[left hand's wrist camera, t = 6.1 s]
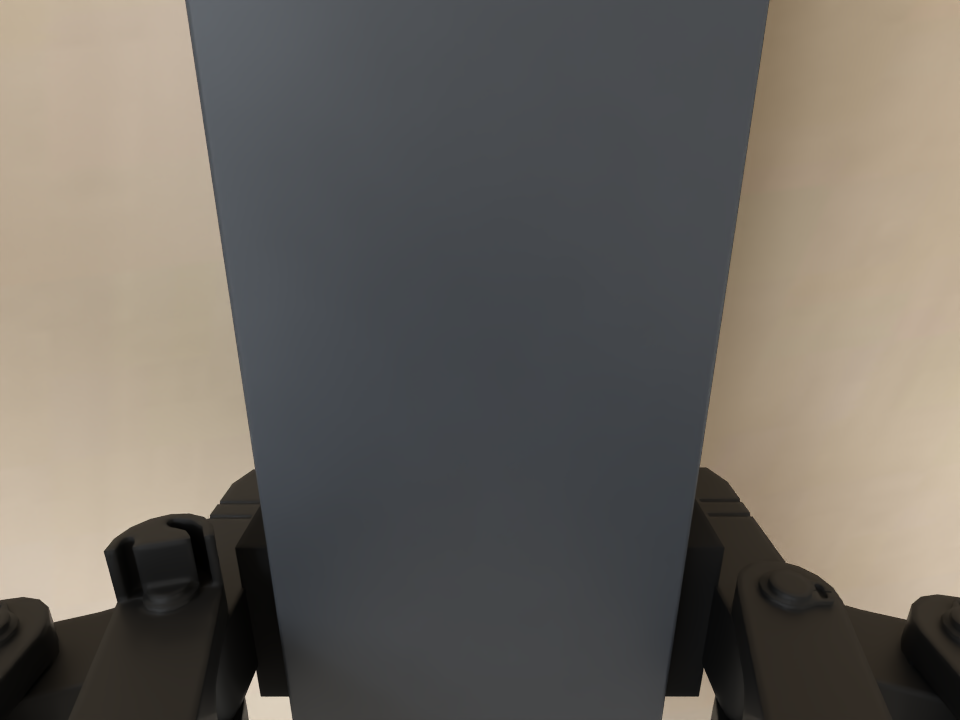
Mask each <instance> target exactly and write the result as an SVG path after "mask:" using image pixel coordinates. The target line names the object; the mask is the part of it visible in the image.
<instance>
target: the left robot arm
mask: <svg viewBox="0 0 960 720" xmlns="http://www.w3.org/2000/svg"><path fill="white" fill-rule="evenodd" d="M104 554H105V557H106V561H107V565H108V568H109V572H110V576H111V580H112V583H113V587H114V591H115V594H116V598H117V605H116V607H115V608H112V609H109V610H106V611H102V612H98V613H94V614H89V615H85V616H80V617H76V618H71V619H67V620H63V621H58V622H54V623H53V620H52V617H51V613H50V610H49V607H48V606H47V605H45V604H44V603H43V602H42V601H41V600H39V599H33V598H26V597H20V598H13V599H6V600H0V720H249V719H248V711H247V705H246V700H245V695H246V693H247V690H248V688H249V686H250V683H251V681H252V678H253V676H254V674H255V671H257V677H258V683H259V689H260V694H261V696H289V692H288V685H287V678H286V672H285V665H284V658H283V651H282V645H281V638H280V631H279V625H278V618H277V611H276V605H275V598H274V591H273V584H272V578H271V571H270V564H269V558H268V551H267V544H266V538H265V531H264V524H263V517H262V511H261V504H260V497H259V491H258V484H257V477H256V471H255V469H253V470H252V471H250V472H249V473H248V474H246V475H245V476H243V477H242V478H240V479H239V480H237V481H236V482H235V483H233V484H232V485H231V487H230V488H229V489H228V491H227V492H226V494H225V495H224V496H223V498H222V499H221V501H220V504H218V505H217V506H216V508H215V509H214V510H213V512H212V513H211V515H210V519H206V518H204V517H201V516H197V515H193V514H170V515H166V516H161V517H157V518H153V519H149V520H147V521H145V522H142V523H140V524H138V525H135V526H133V527H131V528H129V529H128V530H126V531H125V532H123V533H122V534H120V535H119V536H117V537H116V538H115V539H114V540H113V541H112V542H111V543H110V544H109V546H108V547H107V548H106V549H105V551H104ZM703 669H705V672H706V674H707V676H708V679H709V681H710V683H711V686H712V688H713V691H714V693H715V700H714V705H713V711H712V716H711V720H960V598H959V597H952V596H945V595H938V594H937V595H930V596H923V597H920V598H919V599H918V600H917V601H915V602H914V603H913V604H912V605H911V609H910V612H909V615H908V618H907V620H905V619H900V618H896V617H891V616H887V615H882V614H878V613H873V612H869V611H864V610H860V609H856V608H853V607H849V606H846V605H844V604H843V601H842V600H841V598H840V597H839V596H838V594H837V593H836V591H835V590H834V588H833V587H831V586H830V585H829V584H828V583H826V582H825V581H824V580H823V579H821V578H820V577H819V576H817V575H815V574H813V573H811V572H809V571H807V570H805V569H803V568H801V567H799V566H795V565H791V564H788V563H786V562H785V561H784V560H783V558H782V557H781V555H780V554H779V553H778V551H777V550H776V549H775V547H774V546H773V544H772V543H771V542H770V540H769V539H768V537H767V536H766V535H765V533H764V532H763V530H762V529H761V528H760V526H759V525H758V524H757V522H756V521H755V519H754V518H753V517H750V512H749V511H748V510H747V508H746V507H745V506H744V504H743V503H742V502H740V499H739V497H738V496H737V494H736V493H735V492H734V490H733V489H732V487H731V486H730V485H729V483H728V482H727V481H725V480H724V479H722V478H721V477H720V476H718V475H717V474H715V473H714V472H712V471H711V470H709V469H708V468H699V473H698V480H697V487H696V494H695V500H694V507H693V514H692V520H691V527H690V534H689V540H688V547H687V554H686V560H685V567H684V574H683V580H682V587H681V594H680V600H679V607H678V614H677V621H676V627H675V634H674V641H673V647H672V654H671V661H670V667H669V674H668V681H667V687H666V694H665V696H699V692H700V686H701V680H702V675H703Z"/></svg>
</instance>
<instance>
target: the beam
mask: <svg viewBox="0 0 960 720" xmlns="http://www.w3.org/2000/svg"><path fill="white" fill-rule="evenodd" d="M185 1H186V8H187V15H188V22H189V28H190V35H191V42H192V48H193V55H194V62H195V68H196V75H197V82H198V89H199V95H200V102H201V109H202V115H203V122H204V129H205V135H206V142H207V149H208V156H209V162H210V169H211V176H212V182H213V189H214V196H215V202H216V209H217V216H218V223H219V229H220V236H221V243H222V249H223V256H224V263H225V269H226V276H227V283H228V290H229V296H230V303H231V310H232V316H233V323H234V330H235V337H236V343H237V350H238V357H239V363H240V370H241V377H242V383H243V390H244V397H245V404H246V410H247V417H248V424H249V430H250V437H251V444H252V450H253V457H254V464H255V471H256V477H257V484H258V491H259V497H260V504H261V511H262V517H263V524H264V531H265V538H266V544H267V551H268V558H269V564H270V571H271V578H272V584H273V591H274V598H275V605H276V611H277V618H278V625H279V631H280V638H281V645H282V651H283V658H284V665H285V672H286V678H287V685H288V692H289V698H290V705H291V712H292V718H293V720H662V714H663V707H664V701H665V694H666V687H667V681H668V674H669V667H670V661H671V654H672V647H673V641H674V634H675V627H676V621H677V614H678V607H679V600H680V594H681V587H682V580H683V574H684V567H685V560H686V554H687V547H688V540H689V534H690V527H691V520H692V514H693V507H694V500H695V494H696V487H697V480H698V473H699V467H700V460H701V453H702V447H703V440H704V433H705V427H706V420H707V413H708V407H709V400H710V393H711V387H712V380H713V373H714V367H715V360H716V353H717V347H718V340H719V333H720V326H721V320H722V313H723V306H724V300H725V293H726V286H727V280H728V273H729V266H730V260H731V253H732V246H733V240H734V233H735V226H736V220H737V213H738V206H739V200H740V193H741V186H742V179H743V173H744V166H745V159H746V153H747V146H748V139H749V133H750V126H751V119H752V113H753V106H754V99H755V93H756V86H757V79H758V73H759V66H760V59H761V53H762V46H763V39H764V32H765V26H766V19H767V12H768V6H769V0H185Z"/></svg>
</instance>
